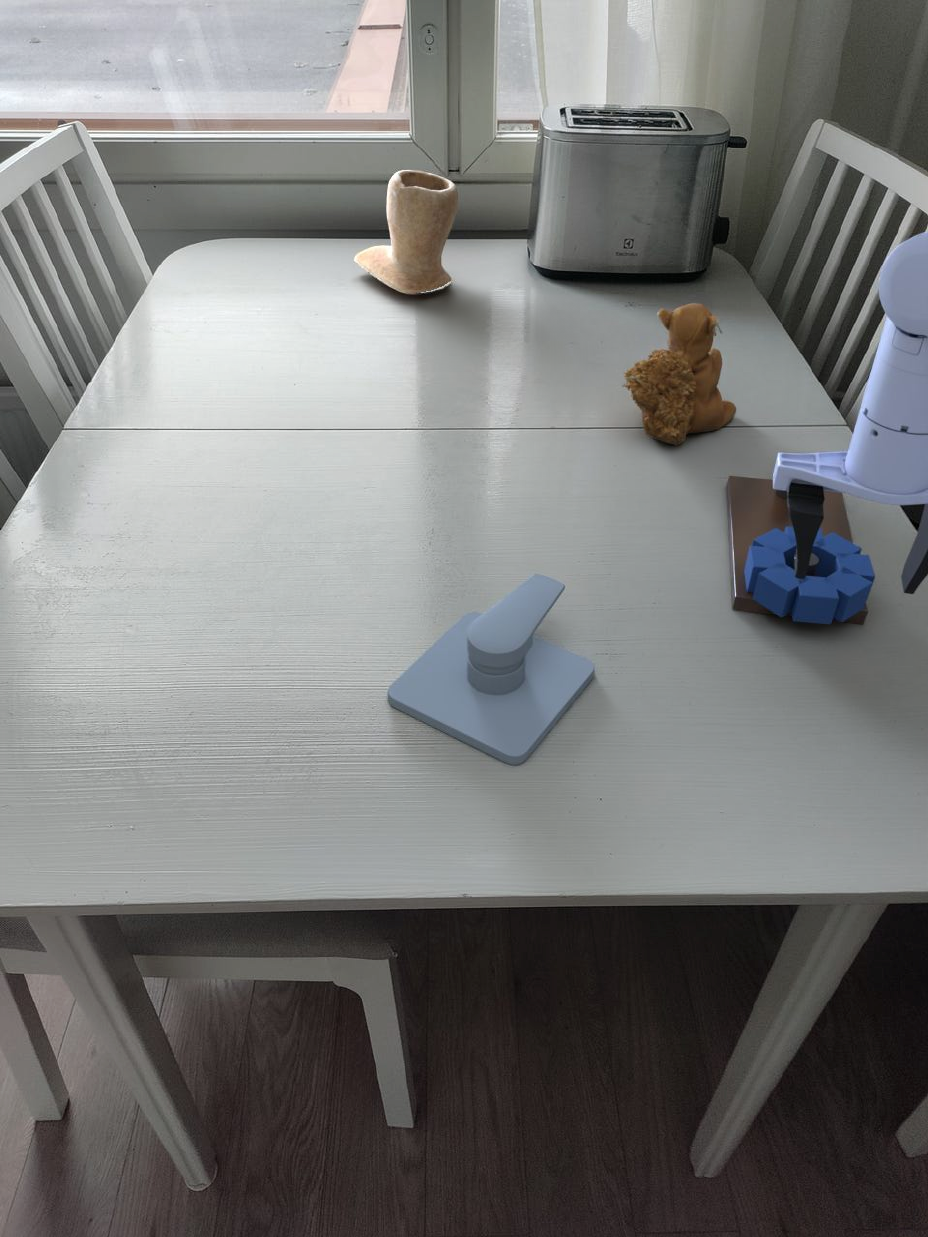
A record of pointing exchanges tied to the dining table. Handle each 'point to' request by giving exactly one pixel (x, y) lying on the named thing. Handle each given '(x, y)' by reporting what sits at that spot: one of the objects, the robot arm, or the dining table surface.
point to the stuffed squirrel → (681, 378)
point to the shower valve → (496, 676)
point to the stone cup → (414, 233)
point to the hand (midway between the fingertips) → (852, 578)
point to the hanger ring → (809, 577)
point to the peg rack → (761, 512)
